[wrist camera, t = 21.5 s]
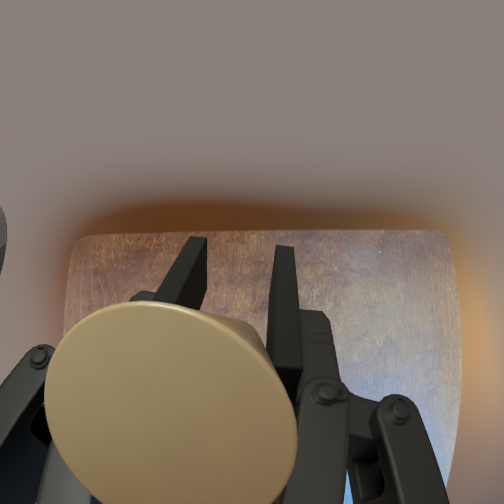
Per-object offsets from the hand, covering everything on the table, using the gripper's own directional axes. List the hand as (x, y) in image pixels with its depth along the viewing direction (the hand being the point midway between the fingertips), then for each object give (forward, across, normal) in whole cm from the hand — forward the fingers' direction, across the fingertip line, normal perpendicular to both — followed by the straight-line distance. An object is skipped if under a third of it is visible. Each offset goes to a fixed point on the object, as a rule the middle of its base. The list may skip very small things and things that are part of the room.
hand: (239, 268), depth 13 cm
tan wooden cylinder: (+1, 0, -6) cm, 6 cm away
